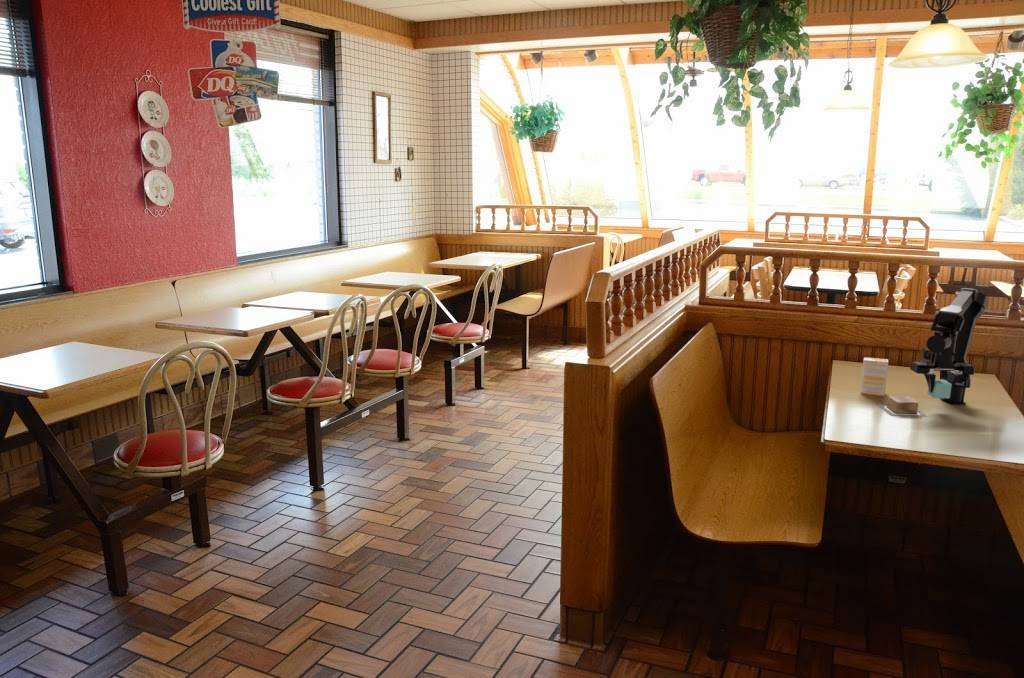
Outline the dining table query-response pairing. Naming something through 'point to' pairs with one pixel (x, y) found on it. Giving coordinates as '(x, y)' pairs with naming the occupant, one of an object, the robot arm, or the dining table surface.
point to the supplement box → (874, 376)
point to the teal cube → (941, 389)
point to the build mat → (891, 413)
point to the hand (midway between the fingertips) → (938, 392)
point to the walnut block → (902, 405)
